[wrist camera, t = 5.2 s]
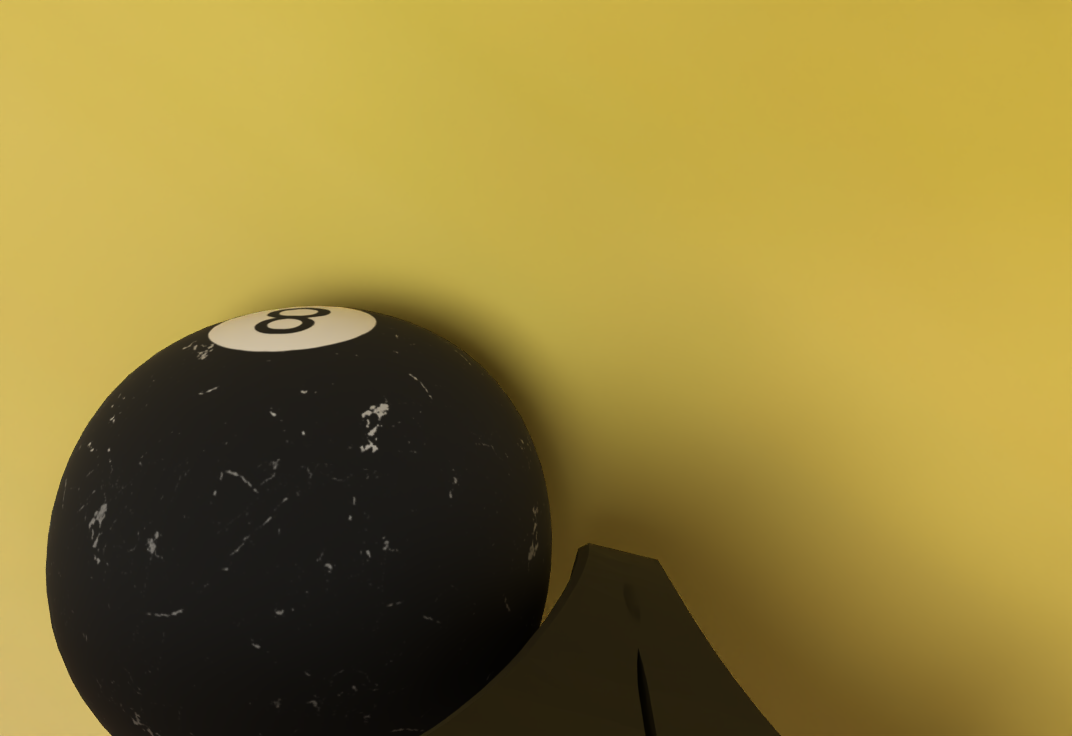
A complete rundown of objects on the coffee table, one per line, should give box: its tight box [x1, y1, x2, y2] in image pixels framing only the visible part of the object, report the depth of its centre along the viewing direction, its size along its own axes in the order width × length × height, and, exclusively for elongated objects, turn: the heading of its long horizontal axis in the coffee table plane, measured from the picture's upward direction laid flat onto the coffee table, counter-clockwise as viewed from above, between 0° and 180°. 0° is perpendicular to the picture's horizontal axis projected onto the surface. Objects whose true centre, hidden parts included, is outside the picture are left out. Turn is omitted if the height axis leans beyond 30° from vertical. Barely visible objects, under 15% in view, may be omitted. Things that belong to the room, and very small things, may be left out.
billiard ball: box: [46, 306, 552, 736], centre depth 12 cm, size 6×6×6 cm
